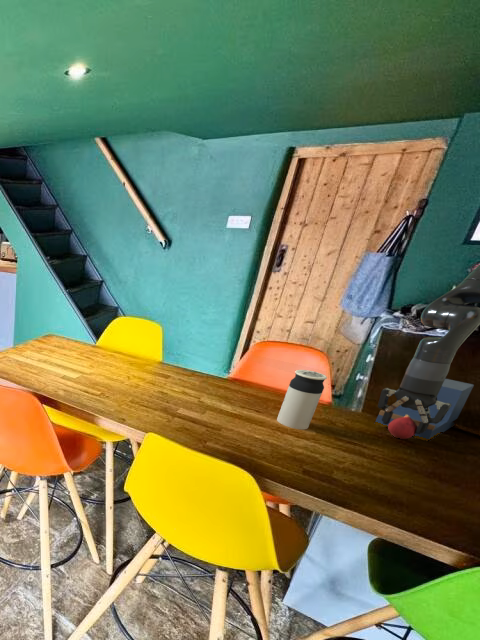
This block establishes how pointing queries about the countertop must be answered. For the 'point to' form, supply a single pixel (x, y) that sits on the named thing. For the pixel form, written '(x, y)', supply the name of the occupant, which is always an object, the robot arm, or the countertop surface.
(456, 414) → the stand
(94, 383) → the countertop surface
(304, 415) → the travel mug
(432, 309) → the robot arm
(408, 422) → the onion
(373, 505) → the countertop surface
